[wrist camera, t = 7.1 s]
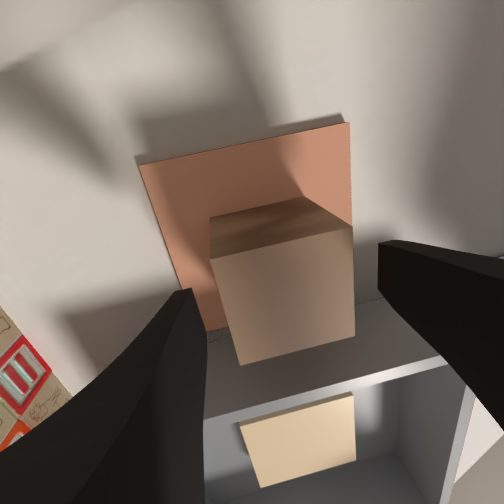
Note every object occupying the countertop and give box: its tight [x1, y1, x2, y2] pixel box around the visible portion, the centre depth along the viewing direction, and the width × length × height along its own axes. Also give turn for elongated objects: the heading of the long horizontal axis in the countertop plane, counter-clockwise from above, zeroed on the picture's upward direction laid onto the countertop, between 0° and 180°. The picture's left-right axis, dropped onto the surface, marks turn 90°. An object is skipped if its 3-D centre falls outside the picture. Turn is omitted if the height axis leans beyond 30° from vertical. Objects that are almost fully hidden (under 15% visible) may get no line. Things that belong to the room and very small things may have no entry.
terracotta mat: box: [139, 122, 352, 332], centre depth 14 cm, size 10×10×1 cm
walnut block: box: [210, 196, 355, 366], centre depth 12 cm, size 5×5×5 cm
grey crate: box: [203, 297, 476, 504], centre depth 19 cm, size 20×20×6 cm
